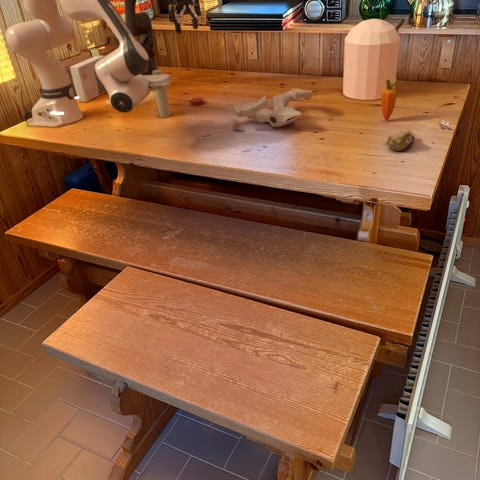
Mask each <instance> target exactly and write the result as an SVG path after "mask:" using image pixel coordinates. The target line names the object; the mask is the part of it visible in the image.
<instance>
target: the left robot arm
mask: <svg viewBox="0 0 480 480" xmlns="http://www.w3.org/2000/svg"><path fill="white" fill-rule="evenodd" d="M110 1H111V0H58V2H59V4H60V6H61V8H62V10H63V12H64V13H65V15H67V16H68V17H69V18H70V19H72V20H73V21H76V22H80V23H91V22H92V23H93V22H97V21H104V22H105V23H106V24H107V25H108V27H109V29H110V31H112V33H113V34H114V36H115V37H116V38H117V41H118V42H119V45H118V47H117V48H116V49H115V50H112V51H111V52H110V53H108V54H106V55H104V56H105V57H103V58H102V59H100V60H99V61H98V62H96V63H95V66H94V74H95V79H96V81H97V83H98V84H99V86H100V87H101V88H102V90H103V91H104V92H105V93H106V94H107V95H108V99H109V103H110V105H111V107H112V108H113V109H114V110H115V111H117V112H119V113H124V114H127V113H131V112H133V111H135V110H136V109H137V108H138V107H139V106H141V104H142V102H143V101H145V100H146V98H147V97H148V96H149V95H150V93H151V91H155V90H163V89H166V90H167V88H169V87H170V86H172V77H171V75H170V74H168V73H164V74H162V73H163V72H162V73H160V74H157V75H141V74H142V73H144V72H146V71H147V68H148V64H149V56H148V54H147V52H146V50H145V49H144V48H143V46H142V45H141V44H140V43H139V42H138V41H139V40H138V39H137V38H136V36H134V35H133V34H132V32H131V31H130V29H129V28H128V26H127V25H126V23H125V20H124V19H123V17H122V16H121V14H120V13H119V12H118V10H117V9H116V8H115V6H114V5H113V4H112V2H110ZM22 5H23V8H24V9H25V11H26V13H27V14H29V15H30V16H31V17H33V18H34V19H31V20H26V21H21V22H18V23H15V24H13V25H11V26H9V27H7V28H6V31H5V41H6V43H7V46H8V47H9V49H11V51H12V52H13V53H15V54H16V55H19V56H20V57H23V58H25V60H27V61H28V62H29V63H30V64H31V65H32V67H33V68H34V70H35V72H36V75H37V77H38V80H39V82H40V85H41V87H40V88H39V90H37V91H36V92H37V95H39V94H40V97H39V99H38V100H37V101H36V103H35V104H34V105H33V106H32V107H30V108H29V109H28V110H27V111H26V112H25V114H24V116H23V117H24V118H23V119H24V121H25V122H28V126H30V127H31V126H32V127H49V128H58V127H62V126H64V125H68V124H71V123H75V122H77V121H80V120H81V119H82V118H83V117H84V113H83V112H82V111H81V108H80V106H79V105H78V101H77V100H78V98H79V97H77V96H76V95H75V92H74V89H73V84H72V83H71V81H70V78H69V75H68V72H67V68H66V65H65V64H64V63H63V61H61V60H59V59H57V58H54V57H53V58H52V57H50V56H49V54H48V53H47V51H48V50H53V49H56V48H60V47H61V48H62V47H64V46H65V45H67V44H69V43H72V41H73V40H74V34H75V32H74V28H73V25H72V23H71V22H70V21H69V20H68V19H67V18H66V17H65V16H62V15H61V14H60V13H59V12H58V11H59V10H58V7H57V0H22ZM76 99H77V100H76ZM28 118H31V119H30V120H29V121H28Z"/></svg>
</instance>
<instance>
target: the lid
mask: <svg viewBox="0 0 480 480" xmlns="http://www.w3.org/2000/svg"><path fill="white" fill-rule="evenodd" d="M204 101H205V100H204V98H203V97H195V98H191V99H190V104H191V106H202V105H203V104H204V103H205V102H204Z"/></svg>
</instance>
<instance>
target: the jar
mask: <svg viewBox="0 0 480 480" xmlns="http://www.w3.org/2000/svg"><path fill="white" fill-rule="evenodd" d="M152 73H153V75H157V74H160V73H162V74H165V73H164V72H163V70H162V69H158V70H154V71H152ZM154 94H155V100H156V107H157V110H158V111H157V112H158V116H159V118H164V119H165V118H169V117H171V115H172V113H171V107H170V103H169V96H168V90H167V88H166V89H163V90H154Z"/></svg>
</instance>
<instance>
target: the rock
mask: <svg viewBox="0 0 480 480" xmlns="http://www.w3.org/2000/svg"><path fill="white" fill-rule="evenodd" d="M415 139H416V135H415V134H414V132H412V131H411V130H408V129H407V130H404V131H398V132H396V133H394V134H393V135H392V134H391V135H389V136H388V137H387V143H388V145H387V146H388V147H389V149H391V150H392V151H395V152H404V151H406V150H407V148H409V145H410V144H411V143H412V142H413V141H414V140H415Z"/></svg>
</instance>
